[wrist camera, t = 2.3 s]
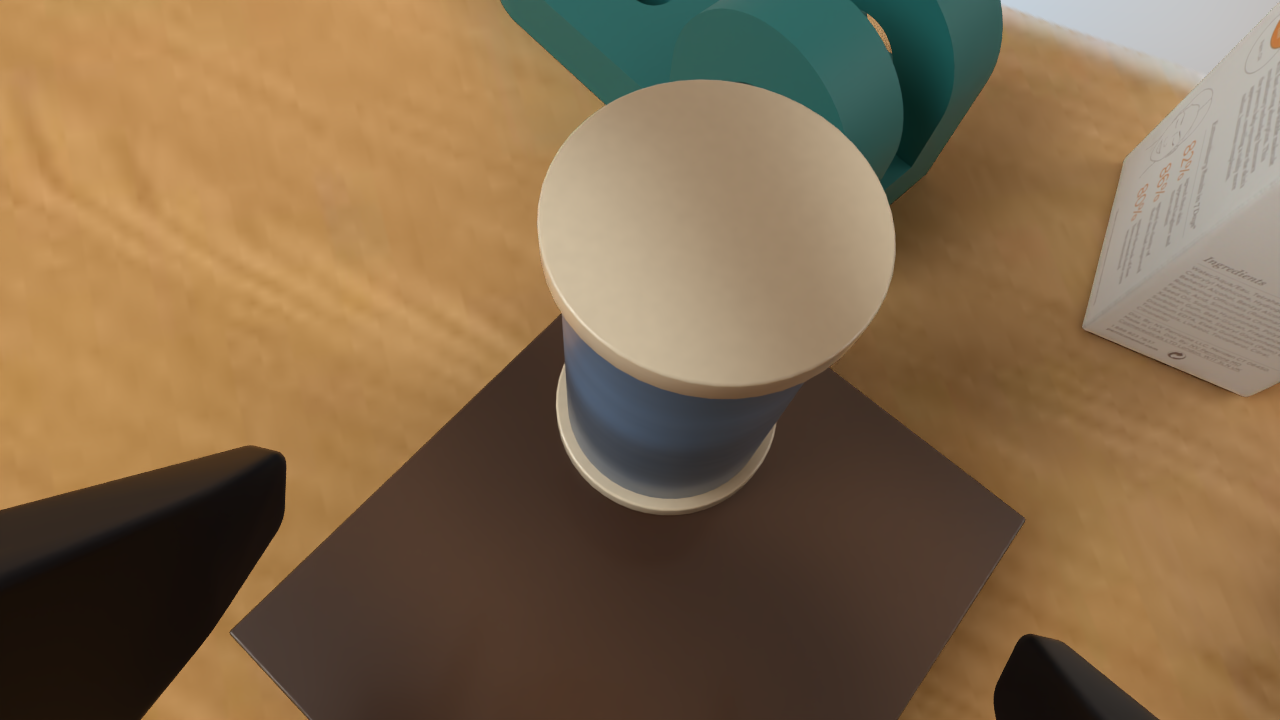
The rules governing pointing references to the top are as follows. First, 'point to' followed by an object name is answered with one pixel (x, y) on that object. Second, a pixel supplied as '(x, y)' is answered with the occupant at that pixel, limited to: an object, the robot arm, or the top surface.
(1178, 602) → the top surface
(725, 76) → the bracket
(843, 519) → the platform
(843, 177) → the spool
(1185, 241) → the small box
